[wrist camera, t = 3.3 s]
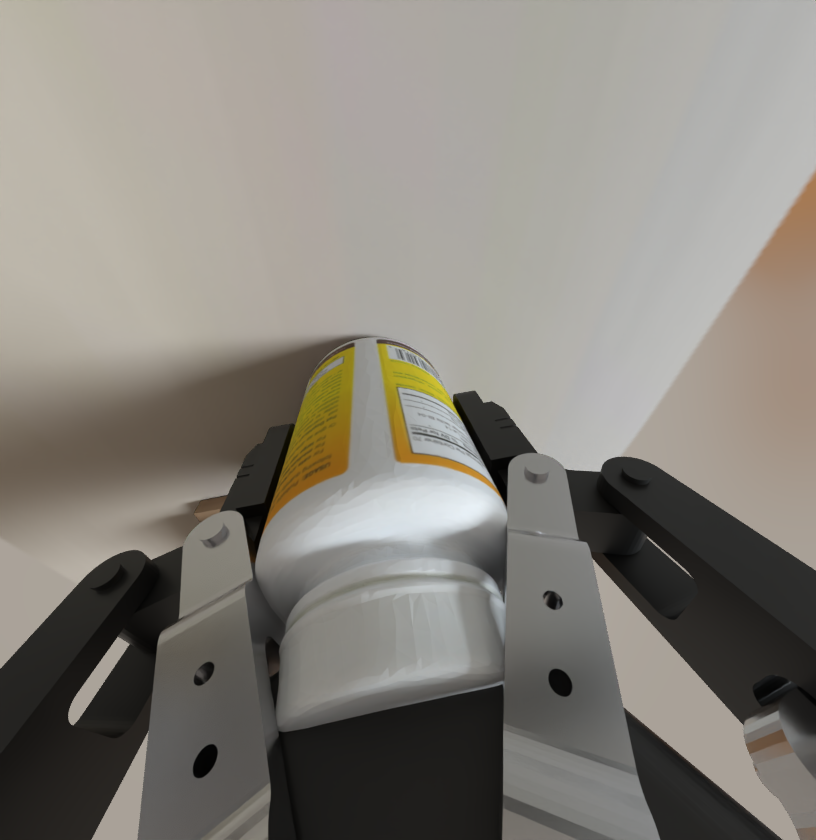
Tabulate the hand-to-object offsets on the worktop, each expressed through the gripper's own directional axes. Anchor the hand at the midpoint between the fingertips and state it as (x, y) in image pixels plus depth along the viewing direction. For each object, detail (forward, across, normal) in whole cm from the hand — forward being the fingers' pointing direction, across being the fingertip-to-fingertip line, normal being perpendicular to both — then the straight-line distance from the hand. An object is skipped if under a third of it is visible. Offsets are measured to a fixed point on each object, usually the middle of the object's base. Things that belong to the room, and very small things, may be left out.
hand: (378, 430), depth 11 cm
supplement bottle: (+3, 0, 0) cm, 3 cm away
